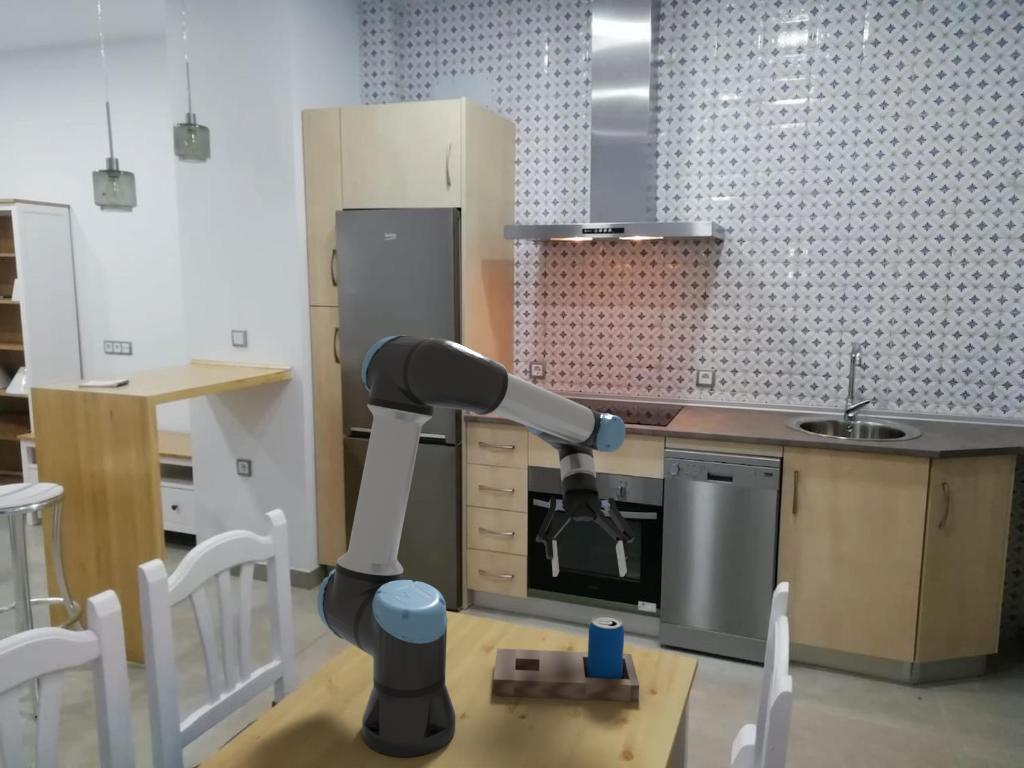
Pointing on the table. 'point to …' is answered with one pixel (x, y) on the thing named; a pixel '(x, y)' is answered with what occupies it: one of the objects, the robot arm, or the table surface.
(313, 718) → the table surface
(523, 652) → the hole board
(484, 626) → the table surface
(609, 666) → the beverage can
